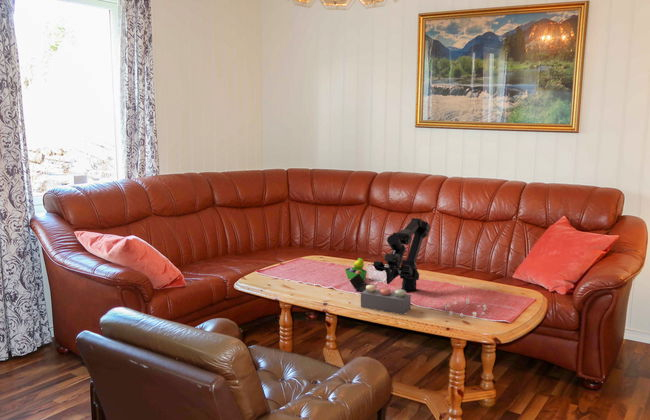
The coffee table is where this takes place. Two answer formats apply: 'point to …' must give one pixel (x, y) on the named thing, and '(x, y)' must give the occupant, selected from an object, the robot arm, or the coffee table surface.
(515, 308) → the coffee table surface
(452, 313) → the game piece set
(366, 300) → the button panel
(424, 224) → the robot arm
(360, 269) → the fruit basket
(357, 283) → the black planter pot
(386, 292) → the red button
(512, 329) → the coffee table surface
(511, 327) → the coffee table surface
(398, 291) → the green button
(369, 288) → the cream button
